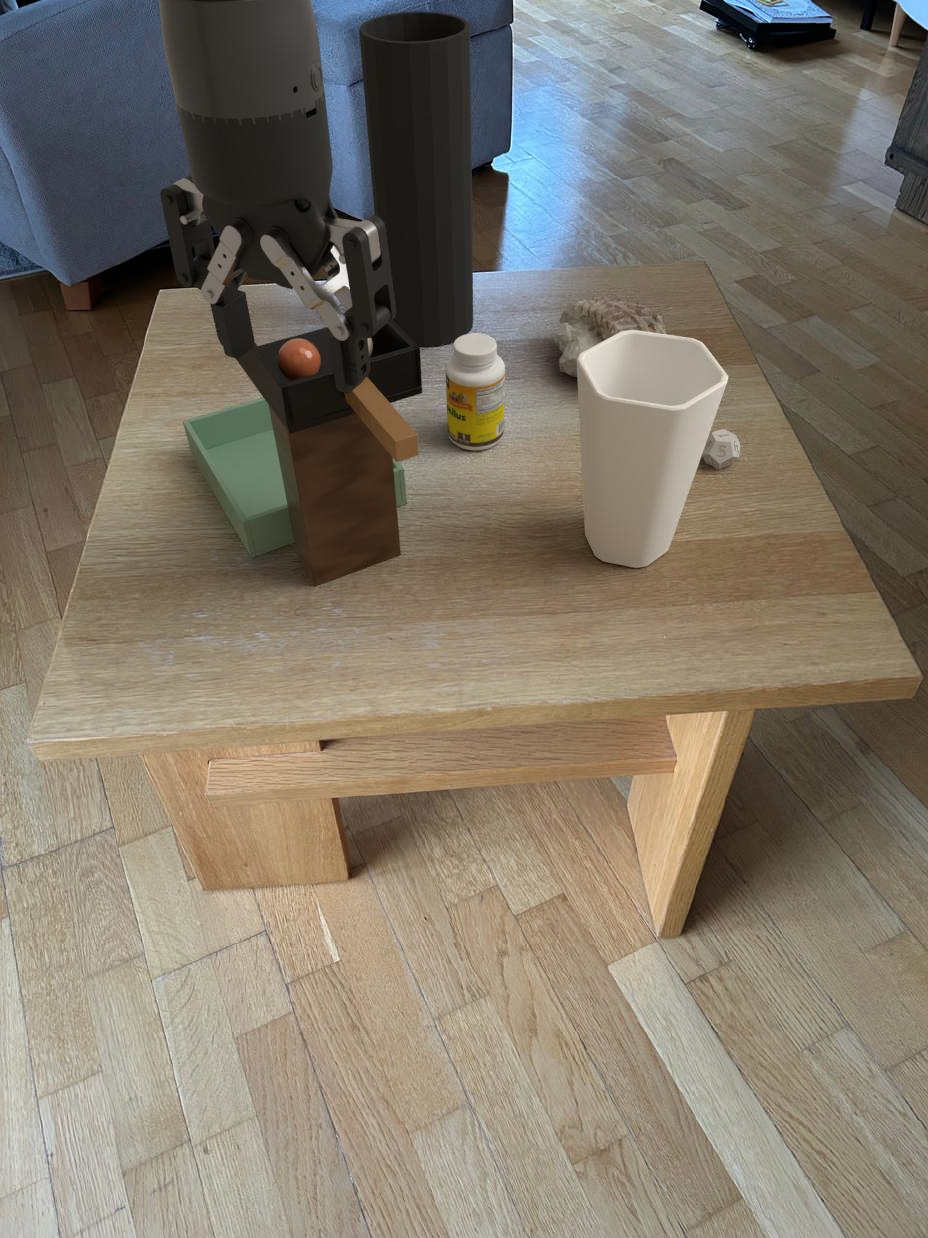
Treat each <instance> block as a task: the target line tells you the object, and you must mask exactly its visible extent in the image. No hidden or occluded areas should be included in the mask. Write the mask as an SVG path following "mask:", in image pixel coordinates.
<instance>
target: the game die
mask: <svg viewBox="0 0 928 1238" xmlns="http://www.w3.org/2000/svg"><path fill="white" fill-rule="evenodd" d="M740 453H741V442H740V440H739V439H738V437H737V435H736V434H735V433H733V432H731V431H729V430H728V429H725V428H721V429H718V430H714V431H710V433H709V436H708V439H707V442H706V445H705V447H704V450H703V453H702V456H701V458H702V459H703V460H704V462H705V464H707V465H709V466H711V467H713V468H714V469H716V470H720V469H722V468H726V467H729V466H731V465H732V464H733V463H734V462H736V461H737V460H738V459H739V458H740Z"/></svg>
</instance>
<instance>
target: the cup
mask: <svg viewBox="0 0 928 1238" xmlns="http://www.w3.org/2000/svg"><path fill="white" fill-rule="evenodd" d="M666 334H667V333H666ZM666 334H659V333H652V332H645V331H638V330H627V331H621V332H620V333H618V334H616V335H614V336H612V337H610V338H608V339H606V340H605V341H603V342H601V343H599V344H597V345H595V346H593V347H591V348H590V349H588V350H586V351H584V352H582V353H580V354H579V356H578V358H577V377H576V378H577V396H578V416H579V417H578V418H579V419H578V420H579V437H580V459H581V460H580V461H581V479H582V482H581V483H582V500H583V501H582V502H583V521H584V536H585V538H586V540H587V542H588V544H589V546H590V549H591V551H592V553H593V555H594V557H596V558H597V559H599V560H600V561H602V562H604V563H609V564H613V565H620V566H623V567H629V568H634V569H638V568H645V567H648V566H649V565H651V564H653V562H655V561H656V560H658V559H659V558H661V557H662V556H663V555H666V553H667V552H669V550H670V548H671V544H672V541H673V538H674V536H675V533H676V530H677V527H678V524H679V521H680V518H681V516H682V513H683V509H684V507H685V504H686V502H687V498H688V496H689V492H690V490H691V487H692V484H693V482H694V478H695V476H696V473H697V470H698V467H699V465H700V461H701V459H702V453H703V450H704V447H705V445H706V442H707V439H708V436H709V434H710V433H711V431H712V427H713V424H714V422H715V419H716V416H717V413H718V410H719V406H720V404H721V402H722V398H723V396H724V393H725V390H726V387H727V385H728V381H729V375H728V373H727V372H726V371H725V369H724V368H723V367H722V366H721V364H720V363H719V362H718V361H717V359H716V358H715V357H714V355H713V354H712V353H711V351H710V350H709V348H708V347H707V346H706V345H705V344H704V343H703V342H702V341H700V340H698V339H697V338H693V337H687V336H680V335H674V334H673V335H672V334H667V335H666Z"/></svg>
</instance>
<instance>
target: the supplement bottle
mask: <svg viewBox="0 0 928 1238" xmlns="http://www.w3.org/2000/svg"><path fill="white" fill-rule="evenodd" d="M497 347H498V345H497V341H496V340H495V339H494V337H492V336H490V335H488V334H485V333H479V332H473V333H472V332H471V333H467V334H465V335H462V336H460V337H458V338H457V339H456V340H455V342H453V351H452V356H450V357H449V358H448V360H447V362H446V364H445V384H446V385H445V392H446V393H445V394H446V423H447V436H448V438H449V439H450V441H451V442H452V443H453V444H454V445H456V446H457V447H459V448H461V449H464V450H468V451H484V450H487V449H491V448H493V447H495V446H496V445H498V444H499V443H500V441H501V440H502V439H503V438H504V432H505V408H506V407H505V401H506V365H505V364H506V363H505V362H504V360H503V358H501V357H500V355H498V350H497V349H498V348H497Z"/></svg>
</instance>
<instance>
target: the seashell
mask: <svg viewBox="0 0 928 1238" xmlns="http://www.w3.org/2000/svg"><path fill="white" fill-rule="evenodd" d="M627 330H638V331H645V332H652V333H659V334H666V335H668V334H667V330H666V326H665V323H664V314H663V313H662V312H661V313H659V314H656V313H654V311H652V309H651V308H650V307H649V306H643V305H642V304H641V303H640V302H638V301H636V302H633V301H631V300H630V299H628V298H626V300H625V301H623V299H621V297H619V296H617V295H615V299H613V300H611V299H609V298H607V297H606V296H602V297H600V298H598V297H597V296H594V297H592V298H590V299H589V300H587V299H585V298H584V299H582V300H578V301H575V302H573V303H571V304H569V305H567V306H566V308H565V309H564V310H563V311H562V313H561V315H560V318H559V324H558V329H557V332H555V333H553V339H554V344H555V346H557V347H558V348H559V351H561V352H562V355H561V356H559V359H558V366H559V371H560V372H562V373H566V374H567V375H568V376H571V377H572V378H577V358H578V356H579V354H580V353H582V352H584V351H586V350H588V349H590V348H591V347H593V346H595V345H597V344H599V343H601V342H603V341H605V340H606V339H608V338H610V337H612V336H614V335H616V334H618V333H620V332H621V331H627Z"/></svg>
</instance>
